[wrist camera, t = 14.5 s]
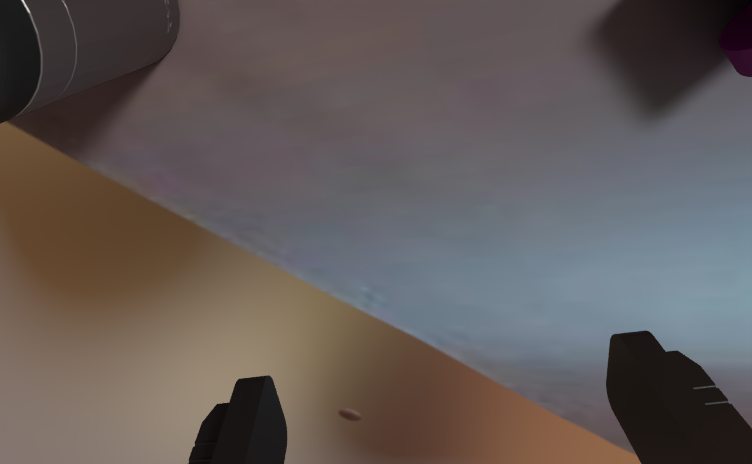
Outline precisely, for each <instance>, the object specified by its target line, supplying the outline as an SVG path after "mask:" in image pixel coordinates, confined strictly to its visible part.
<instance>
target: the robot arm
mask: <svg viewBox="0 0 752 464" xmlns="http://www.w3.org/2000/svg"><path fill="white" fill-rule="evenodd" d="M179 15H180V14H179V8H178V2H177V0H0V123H2V122H5V121H8V120H10V119H13V118H15V117H18V116H20V115H23V114H26V113H28V112H31V111H33V110H36V109H38V108H41V107H43V106H45V105H48V104H50V103H53V102H56V101H58V100H61V99H63V98H66V97H68V96H71V95H73V94H76V93H79V92H81V91H84V90H86V89H89V88H91V87H94V86H97V85H99V84H102V83H104V82H107V81H109V80H112V79H115V78H117V77H120V76H122V75H125V74H128V73H130V72H133V71H135V70H138V69H141V68H143V67H146V66H148V65H151V64H153V63H155V62H157V61H158V60H160V59H161V58H163V57H164V56H165V55H166V54H167V53H168V52H169V50H170V49H171V48H172V46H173V44H174V42H175V40H176V38H177V33H178V29H179ZM606 389H607V395H608V399H609V403H610V405H611V408H612V410H613V412H614V414H615V416H616V418H617V419H618V421H619V423H620V425H621V427H622V429H623V431H624V432H625V434H626V436H627V438H628V440H629V442H630V443H631V445H632V447H633V449H634V451H635V453H636V455H637V456H638V458H639V460H640V462H641V464H752V429H751V427H750V426H749V425H748V424H747V422H746V421H745V420H744V419H743V418H742V416H741V415H740V414H739V413H738V411H737V410H736V409H735V408H734V407H733V405H732V404H729V403H728V399H727V398H726V397H725V396H724V394H723V393H722V392H721V391H720V389H719V388H716V386H715V383H714V382H713V381H712V380H711V378H710V377H709V376H708V375H707V374H706V372H705V371H704V370H703V369H702V368H701V366H700V365H698V364H697V363H695V362H694V361H692V360H691V359H689V358H688V357H686V356H685V355H683V354H682V353H680V352H679V351H669V352H665V350H664V349H663V348H662V346H661V345H660V344H659V342H658V341H657V340H656V339H655V337H654V336H653V335H652V334H651V333H650V332H649V331H638V332H629V333H621V334H614V335H612V337H611V339H610V347H609V358H608V369H607V379H606ZM286 447H287V426H286V421H285V417H284V414H283V411H282V408H281V405H280V401H279V398H278V395H277V392H276V388H275V385H274V382H273V379H272V378H271V377H270V376H260V377H251V378H243V379H238V381H237V382H236V384H235V387H234V390H233V393H232V396H231V399H230V402H229V403H222V404H217V405H216V406H215V407H214V409H213V410H212V411H211V412H210V413H209V415H208V416H207V417H206V418H205V420H204V421H203V422H202V425H201V427H200V430H199V433H198V436H197V438H196V441H195V447H193V449H192V452H191V455H190V457H189V464H284V460H285V453H286Z"/></svg>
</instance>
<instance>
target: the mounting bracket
mask: <svg viewBox="0 0 752 464" xmlns="http://www.w3.org/2000/svg"><path fill="white" fill-rule="evenodd" d="M719 44H720V46H721V48H722V49H723V51H724V52H725V54H726V55H727V57H728V58H729V60H730V62H731V63H732V65H733V66H734V68H735V69H736V71H737V72H738V73H739V74H740V75H743V76H747V77H752V4H751V5H750V6H748V7H747V8H746V9H745V10H743V11H742V12H741V13H739V14H738V15H737V16H735V17H734V18H733V19H732V20H731V21H730V22H729V23H728V25H727V26H726V27H725V29H724V30H723V32H722V34H721V36H720V39H719Z"/></svg>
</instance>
